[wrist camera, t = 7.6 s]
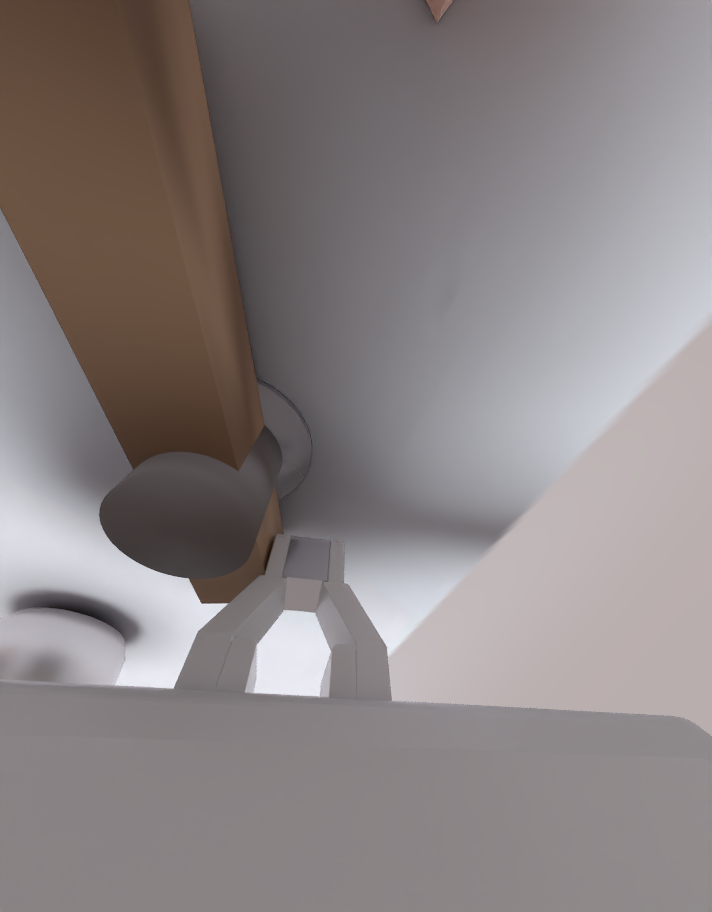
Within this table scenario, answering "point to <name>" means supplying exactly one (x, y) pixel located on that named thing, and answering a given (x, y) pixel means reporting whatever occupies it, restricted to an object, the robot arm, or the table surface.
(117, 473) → the table surface
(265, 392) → the pivot base
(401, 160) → the table surface
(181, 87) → the lever
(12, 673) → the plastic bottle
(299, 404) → the table surface
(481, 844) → the robot arm
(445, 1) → the tray
